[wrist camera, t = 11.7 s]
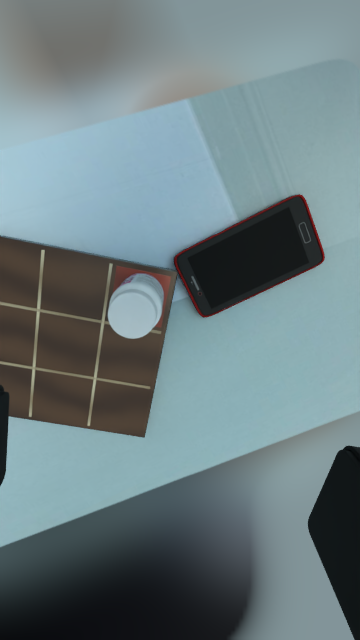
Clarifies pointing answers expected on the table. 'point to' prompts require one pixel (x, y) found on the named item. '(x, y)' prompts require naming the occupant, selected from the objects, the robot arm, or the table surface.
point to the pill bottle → (136, 306)
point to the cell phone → (250, 256)
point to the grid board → (74, 339)
